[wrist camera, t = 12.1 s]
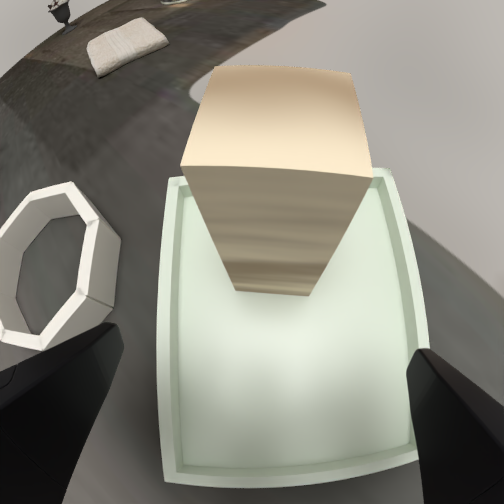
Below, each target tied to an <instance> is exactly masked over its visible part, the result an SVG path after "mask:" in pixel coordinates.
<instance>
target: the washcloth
mask: <svg viewBox="0 0 504 504" xmlns="http://www.w3.org/2000/svg"><path fill="white" fill-rule="evenodd" d="M168 44H169V42H168V41H167V39H166V37H165V36H164V35H163V34H162V33H161V32H160V31H158V30H157V29H156V28H154V26H152V25H151V24H150V23H148V22H147V21H146V20H145V19H144V18H137V19H135V20H132V21H130V22H129V23H127V24H125V25H123V26H121V27H119V28H117V29H114V30H111V31H108V32H105V33H103V34H102V35H100V36H98V37H97V38H95V39H93V40H91V41H90V42H89V43H88V46H87V47H88V48H87V52H88V54H89V58H90V60H91V64H92V66H93V67H94V69H95V72H96V74H97V77H98V78H99V77H103V76H105V75H107V74H109V73H110V72H112V71H114V70H116V69H118V68H120V67H121V66H123V65H125V64H127V63H129V62H131V61H133V60H135V59H137V58H141V57H143V56H145V55H147V54H149V53H151V52H154V51H156V50H158V49H161V48H163V47H165V46H167V45H168Z"/></svg>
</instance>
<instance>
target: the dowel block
mask: <svg viewBox="0 0 504 504" xmlns="http://www.w3.org/2000/svg"><path fill="white" fill-rule="evenodd" d="M180 166H181V169H182V171H183V174H184V176H185V178H186V181H187V183H188V185H189V188H190V190H191V192H192V195H193V197H194V199H195V202H196V204H197V206H198V209H199V211H200V213H201V215H202V218H203V220H204V222H205V225H206V227H207V229H208V231H209V234H210V236H211V238H212V240H213V243H214V245H215V247H216V249H217V251H218V254H219V256H220V258H221V260H222V263H223V265H224V267H225V269H226V271H227V273H228V276H229V278H230V280H231V282H232V284H233V286H234V289H235V291H245V292H257V293H269V294H282V295H296V296H309V295H310V294H311V292H312V290H313V289H314V287H315V285H316V283H317V282H318V280H319V278H320V277H321V275H322V273H323V272H324V270H325V268H326V266H327V265H328V263H329V261H330V259H331V258H332V256H333V254H334V252H335V250H336V249H337V247H338V245H339V243H340V241H341V240H342V238H343V236H344V234H345V232H346V230H347V229H348V227H349V225H350V223H351V221H352V219H353V217H354V215H355V214H356V212H357V210H358V208H359V206H360V204H361V202H362V200H363V198H364V196H365V194H366V192H367V190H368V188H369V186H370V184H371V182H372V180H373V178H374V177H373V171H372V165H371V159H370V154H369V149H368V144H367V138H366V134H365V129H364V124H363V120H362V116H361V111H360V107H359V103H358V99H357V95H356V92H355V88H354V85H353V81H352V77H351V74H350V73H345V72H338V71H330V70H322V69H312V68H302V67H287V66H262V65H261V66H260V65H238V66H215V68H214V70H213V73H212V75H211V78H210V80H209V83H208V86H207V88H206V91H205V93H204V96H203V99H202V102H201V104H200V107H199V110H198V113H197V115H196V118H195V121H194V124H193V127H192V130H191V133H190V136H189V139H188V142H187V145H186V149H185V152H184V155H183V158H182V162H181V165H180Z"/></svg>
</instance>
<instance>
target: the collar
mask: <svg viewBox="0 0 504 504" xmlns="http://www.w3.org/2000/svg"><path fill="white" fill-rule="evenodd" d="M79 214H80V216H81V217H82V219H83V220H84V222H85V223H86V224H87V228H86V233H85V238H84V243H83V249H82V254H81V260H80V267H79V274H78V281H77V289H76V291H75V292H74V294H73V295H72V296H71V297H70V298H69V299H68V301H67V302H66V303H65V304H64V305H63V307H62V308H61V309H60V310H59V311H58V313H57V314H56V315H55V316H54V318H53V319H52V320H51V321H50V323H49V324H48V325H47V327H46V328H45V329H44V330H43V332H42V333H41V334H40V336H38V335H32V334H31V332H30V330H29V328H28V326H27V324H26V322H25V320H24V317H23V315H22V313H21V311H20V308H19V306H18V304H17V301H16V291H17V285H18V278H19V273H20V267H21V262H22V257H23V253H24V251H25V250H26V249H27V248H28V246H29V245H30V244H31V242H32V241H33V240H34V239H35V238H36V236H37V235H38V234H39V233H40V232H41V230H42V229H43V228H44V227H45V226H46V224H47V223H48V222H49V221H50V220H51V219H55V218H61V217H67V216H73V215H79ZM120 239H121V238H120V237H119V236H118V235H117V233H116V232H115V231H114V230H113V228H112V227H111V226H110V225H109V223H108V222H107V221H106V220H105V218H104V217H103V216H102V215H101V213H100V212H99V211H98V210H97V208H96V207H95V206H94V204H93V203H92V202H91V201H90V200H89V199H88V198H87V197H86V196H85V195H84V194H83V193H82V192H81V190H80V189H79V188H78V187H77V186H76V185H75V184H74V183H73V182H67V183H63V184H59V185H55V186H51V187H47V188H43V189H40V190H36V191H33V192H31V193H29V194H28V195H27V196H26V198H25V199H24V200H23V201H22V202H21V204H20V205H19V206H18V207H17V209H16V210H15V211H14V212H13V214H12V215H11V216H10V217H9V219H8V220H7V221H6V223H5V224H4V225H3V227H2V228H1V229H0V340H1V341H2V342H6V343H10V344H14V345H18V346H22V347H26V348H31V349H35V350H40V351H45V350H47V349H49V348H51V347H54V346H56V345H58V344H60V343H62V342H64V341H66V340H68V339H70V338H72V337H74V336H77V335H79V334H81V333H83V332H85V331H87V330H89V329H91V328H93V327H95V326H97V325H99V324H100V323H101V322H102V321H103V320H104V319H105V317H106V316H107V315H108V314H109V313H110V312H111V311H112V310H113V308H112V307H114V301H115V288H116V278H117V269H118V260H119V252H120V245H121V240H120Z"/></svg>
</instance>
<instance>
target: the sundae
mask: <svg viewBox="0 0 504 504" xmlns="http://www.w3.org/2000/svg"><path fill="white" fill-rule="evenodd" d="M68 2H69V0H53V2H52V4H51V5H48V7H49V8H50V11H49V12H51V13H52V14H53V16H54V17H55V19H56V20H57V21H58V22H60V23H64V24H65V26H66V30H65V31H64V32H63V33H62V35H64V34H66V33H68V32H70V31H72V30H73V29H75V28H76V27H77V25H75V26H70V25H69V23H68V19H69V17H70V10H69V6H68Z"/></svg>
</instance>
